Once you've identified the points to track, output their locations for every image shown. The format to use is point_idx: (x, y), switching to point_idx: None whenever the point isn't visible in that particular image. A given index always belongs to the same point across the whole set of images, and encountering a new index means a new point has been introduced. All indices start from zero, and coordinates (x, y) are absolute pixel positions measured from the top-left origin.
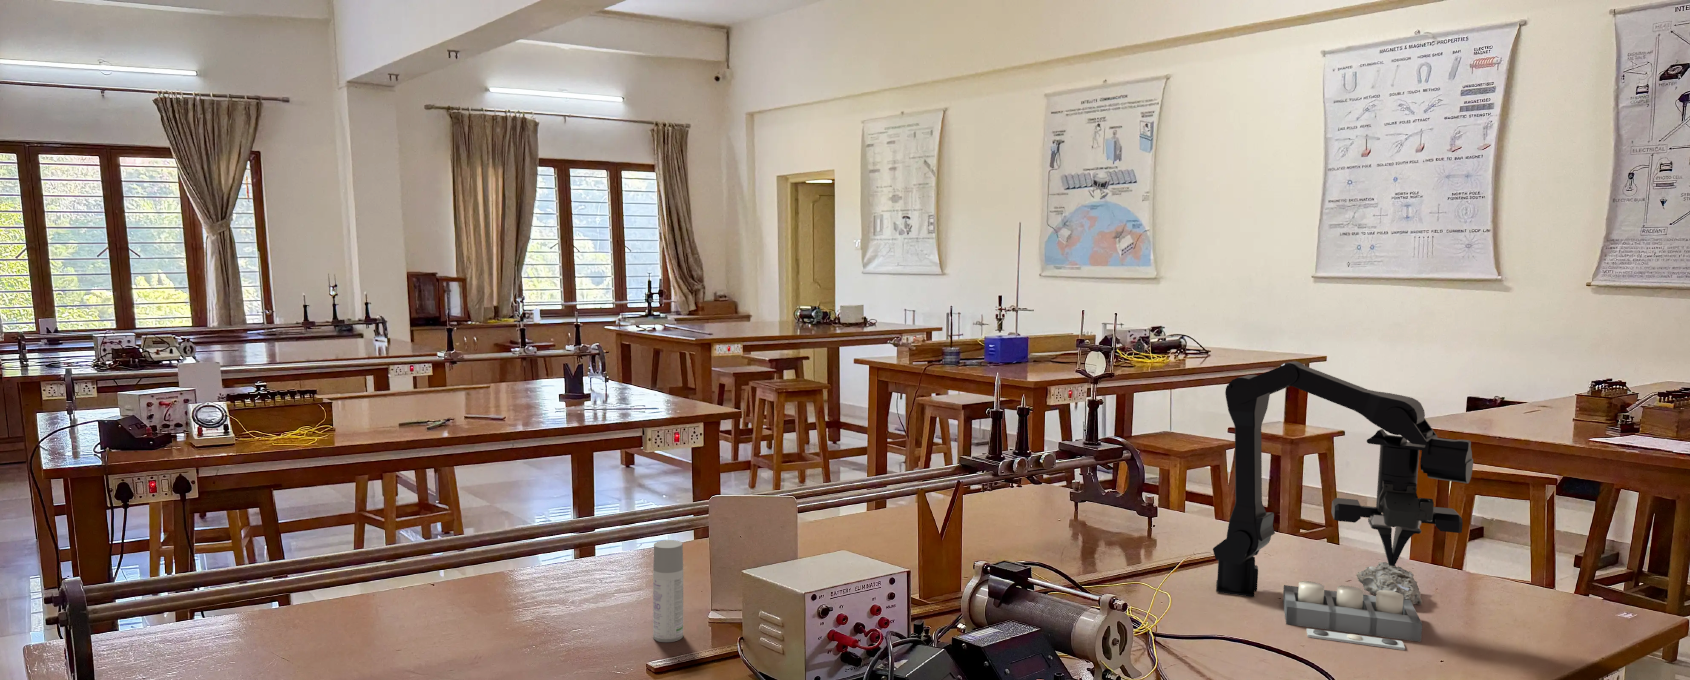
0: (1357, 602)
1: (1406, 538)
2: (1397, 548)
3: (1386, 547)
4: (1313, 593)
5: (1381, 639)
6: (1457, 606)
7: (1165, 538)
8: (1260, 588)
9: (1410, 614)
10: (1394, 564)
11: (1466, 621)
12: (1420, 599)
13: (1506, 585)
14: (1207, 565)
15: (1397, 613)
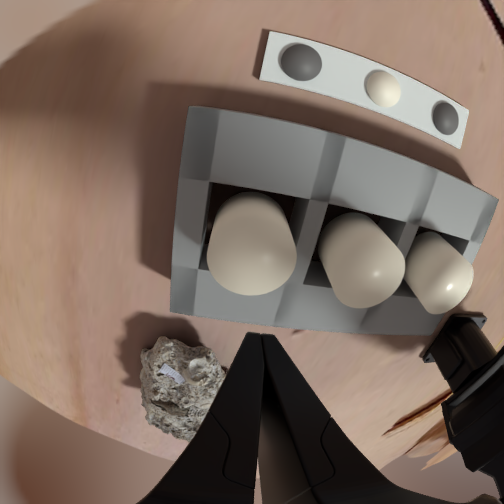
0: (354, 229)
1: (180, 489)
2: (246, 414)
3: (321, 414)
4: (454, 251)
5: (315, 82)
6: (87, 347)
7: (405, 446)
8: (412, 357)
9: (199, 190)
10: (249, 335)
11: (73, 280)
12: (142, 355)
13: (49, 401)
14: (421, 405)
15: (236, 200)
